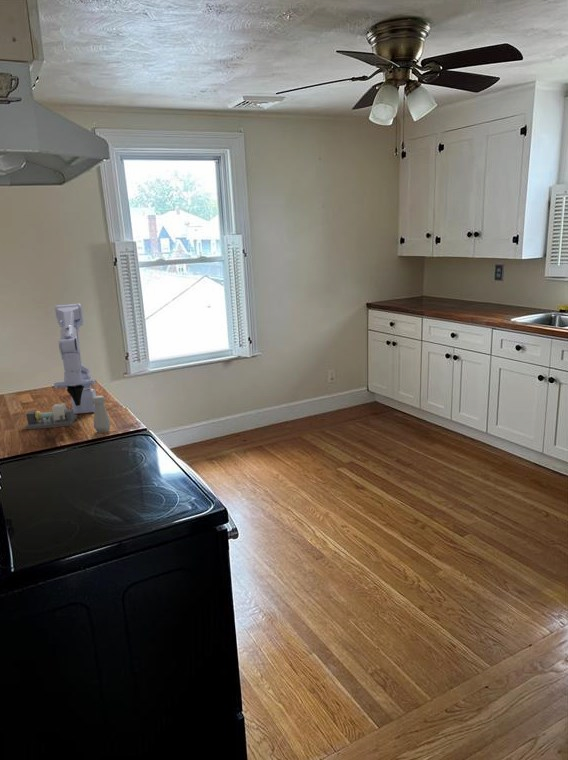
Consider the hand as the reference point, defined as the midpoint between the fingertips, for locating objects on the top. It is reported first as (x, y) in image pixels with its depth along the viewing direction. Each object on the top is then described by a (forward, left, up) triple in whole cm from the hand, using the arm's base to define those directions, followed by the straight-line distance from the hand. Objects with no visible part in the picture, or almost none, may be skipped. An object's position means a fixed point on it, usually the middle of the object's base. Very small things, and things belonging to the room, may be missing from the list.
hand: (78, 405), depth 206 cm
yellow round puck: (+15, 0, -5) cm, 16 cm away
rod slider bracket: (+11, 0, -6) cm, 12 cm away
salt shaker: (-11, +16, -7) cm, 21 cm away
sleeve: (+7, 0, -5) cm, 8 cm away
